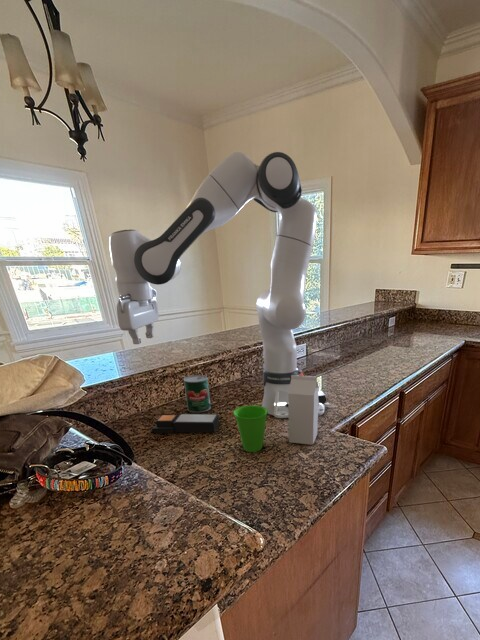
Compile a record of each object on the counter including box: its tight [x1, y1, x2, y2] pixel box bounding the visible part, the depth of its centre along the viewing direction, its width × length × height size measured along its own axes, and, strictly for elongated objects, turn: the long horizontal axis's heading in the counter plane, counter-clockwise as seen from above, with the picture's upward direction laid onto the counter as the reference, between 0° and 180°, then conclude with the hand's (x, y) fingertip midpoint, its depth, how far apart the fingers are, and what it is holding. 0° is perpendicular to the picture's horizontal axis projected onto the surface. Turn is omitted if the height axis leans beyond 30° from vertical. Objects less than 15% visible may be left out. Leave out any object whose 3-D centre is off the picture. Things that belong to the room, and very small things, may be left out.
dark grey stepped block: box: [151, 413, 220, 434], centre depth 109 cm, size 18×8×3 cm, turn 90°
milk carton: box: [288, 375, 320, 446], centre depth 99 cm, size 7×7×19 cm
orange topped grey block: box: [155, 414, 179, 427], centre depth 108 cm, size 5×5×3 cm
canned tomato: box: [182, 374, 212, 414], centre depth 121 cm, size 8×8×11 cm
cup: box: [233, 404, 268, 453], centre depth 96 cm, size 9×9×11 cm
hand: (143, 340), depth 110 cm, fingers open, 8 cm apart
